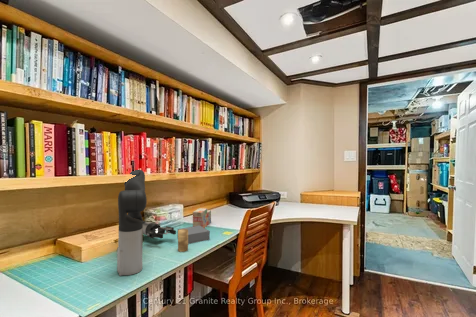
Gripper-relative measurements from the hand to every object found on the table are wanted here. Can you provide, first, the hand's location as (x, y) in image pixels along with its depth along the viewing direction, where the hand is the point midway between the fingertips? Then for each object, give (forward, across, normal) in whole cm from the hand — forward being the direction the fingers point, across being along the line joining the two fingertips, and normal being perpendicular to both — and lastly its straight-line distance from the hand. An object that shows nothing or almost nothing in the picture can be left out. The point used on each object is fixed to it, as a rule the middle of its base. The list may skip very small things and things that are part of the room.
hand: (169, 234), depth 132 cm
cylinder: (+11, 0, +6) cm, 12 cm away
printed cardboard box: (-13, +39, +6) cm, 41 cm away
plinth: (+2, +16, +6) cm, 17 cm away
